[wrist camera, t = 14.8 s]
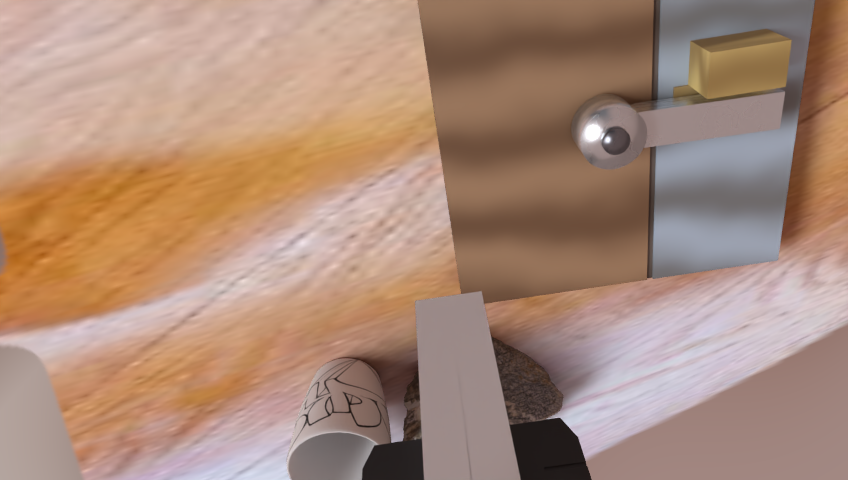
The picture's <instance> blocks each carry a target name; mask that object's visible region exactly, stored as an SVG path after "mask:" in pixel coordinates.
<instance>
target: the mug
mask: <svg viewBox="0 0 848 480" xmlns="http://www.w3.org/2000/svg"><path fill="white" fill-rule="evenodd" d="M387 443H391V435H390V424H389V417H388V411H387V407H386V402H385V398H384V393H383V389H382V385H381V381H380V378H379V376H378V374H377V373H376V371H375V370H374V369H373V368H372V367H371V366H370V365H368V364H366V363H365V362H363V361H360V360H357V359H351V358H342V359H336V360H333V361H330V362H328V363H326V364H325V365H323V366H322V367H321V368H320V369H319V370H318V371H317V373H316V374H315V376H314V378H313V380H312V382H311V385H310V387H309V389H308V392H307V394H306V397H305V399H304V401H303V404H302V406H301V409H300V412H299V415H298V418H297V421H296V425H295V428H294V432H293V436H292V440H291V443H290V447H289V451H288V456H287V472H288V475H289V478H290V480H362V469H363V467H364V465H365V463H366V461H367V459H368V457H369V455H370V453H371V451H372V449H373V447H374V445H380V444H387Z"/></svg>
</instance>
